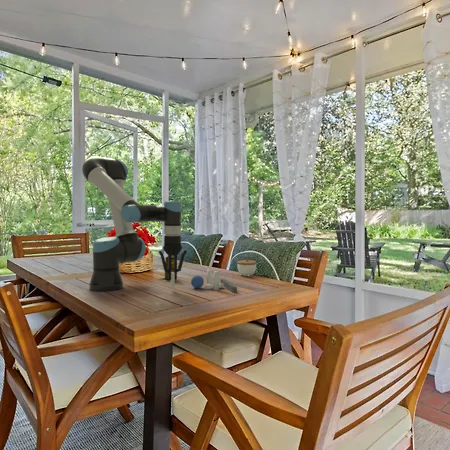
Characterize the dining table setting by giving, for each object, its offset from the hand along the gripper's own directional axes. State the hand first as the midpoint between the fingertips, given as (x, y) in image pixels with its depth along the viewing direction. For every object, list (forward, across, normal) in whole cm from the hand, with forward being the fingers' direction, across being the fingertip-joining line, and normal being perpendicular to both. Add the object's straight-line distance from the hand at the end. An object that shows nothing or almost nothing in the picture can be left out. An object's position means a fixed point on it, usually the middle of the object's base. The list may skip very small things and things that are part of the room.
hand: (172, 286), depth 171 cm
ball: (-1, +12, +3) cm, 13 cm away
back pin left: (+2, +18, +2) cm, 18 cm away
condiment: (+2, +2, +27) cm, 27 cm away
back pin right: (+2, +20, -2) cm, 20 cm away
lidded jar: (+2, +46, +29) cm, 54 cm away
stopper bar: (+2, +26, 0) cm, 27 cm away
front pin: (+1, +16, 0) cm, 16 cm away
